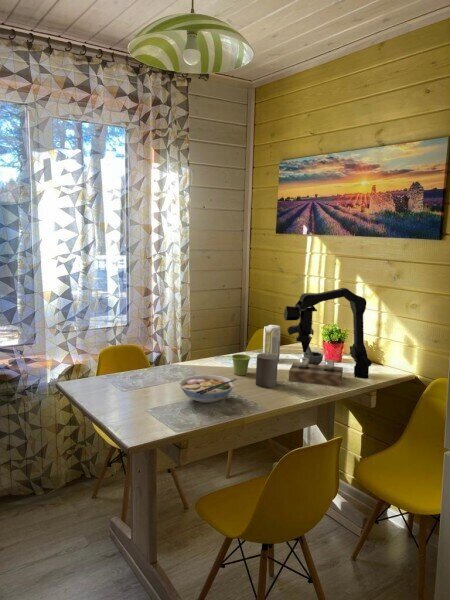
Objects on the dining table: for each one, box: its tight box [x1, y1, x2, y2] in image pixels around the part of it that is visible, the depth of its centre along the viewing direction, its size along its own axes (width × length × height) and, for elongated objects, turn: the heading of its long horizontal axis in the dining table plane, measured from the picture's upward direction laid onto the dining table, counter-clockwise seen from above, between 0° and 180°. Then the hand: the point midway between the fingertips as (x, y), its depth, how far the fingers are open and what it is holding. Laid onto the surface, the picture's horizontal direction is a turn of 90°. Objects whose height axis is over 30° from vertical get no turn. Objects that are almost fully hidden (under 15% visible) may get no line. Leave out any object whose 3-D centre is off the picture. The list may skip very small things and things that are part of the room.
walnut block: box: [288, 362, 344, 387], centre depth 241 cm, size 24×14×5 cm, turn 75°
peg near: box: [324, 359, 335, 372], centre depth 239 cm, size 4×4×5 cm
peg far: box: [299, 356, 308, 369], centre depth 242 cm, size 4×4×5 cm
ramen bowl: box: [178, 374, 238, 404], centre depth 209 cm, size 25×23×8 cm
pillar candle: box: [255, 352, 279, 389], centre depth 230 cm, size 10×10×15 cm
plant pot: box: [231, 353, 252, 377], centre depth 246 cm, size 9×9×9 cm
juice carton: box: [262, 324, 282, 361], centre depth 269 cm, size 8×9×19 cm
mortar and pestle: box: [303, 345, 324, 365], centre depth 261 cm, size 11×9×12 cm
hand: (304, 352), depth 241 cm, fingers closed
